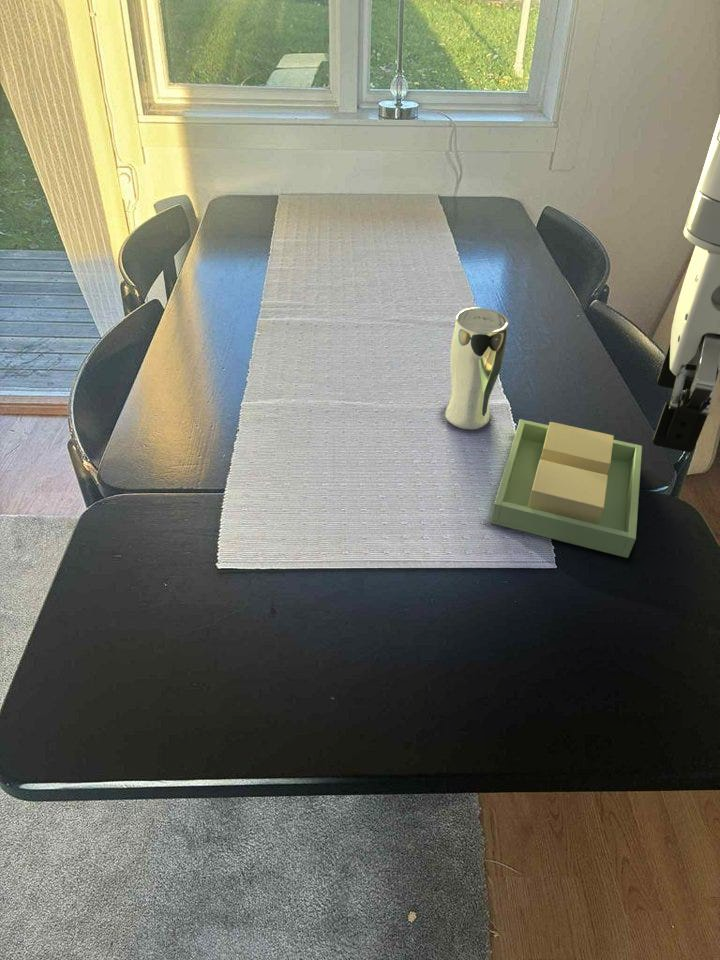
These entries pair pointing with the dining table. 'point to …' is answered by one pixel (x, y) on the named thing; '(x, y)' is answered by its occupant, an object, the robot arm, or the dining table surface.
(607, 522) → the tray
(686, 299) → the robot arm
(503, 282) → the dining table surface
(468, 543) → the dining table surface
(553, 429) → the pale yellow block
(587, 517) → the tan rectangular block
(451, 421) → the beer glass
